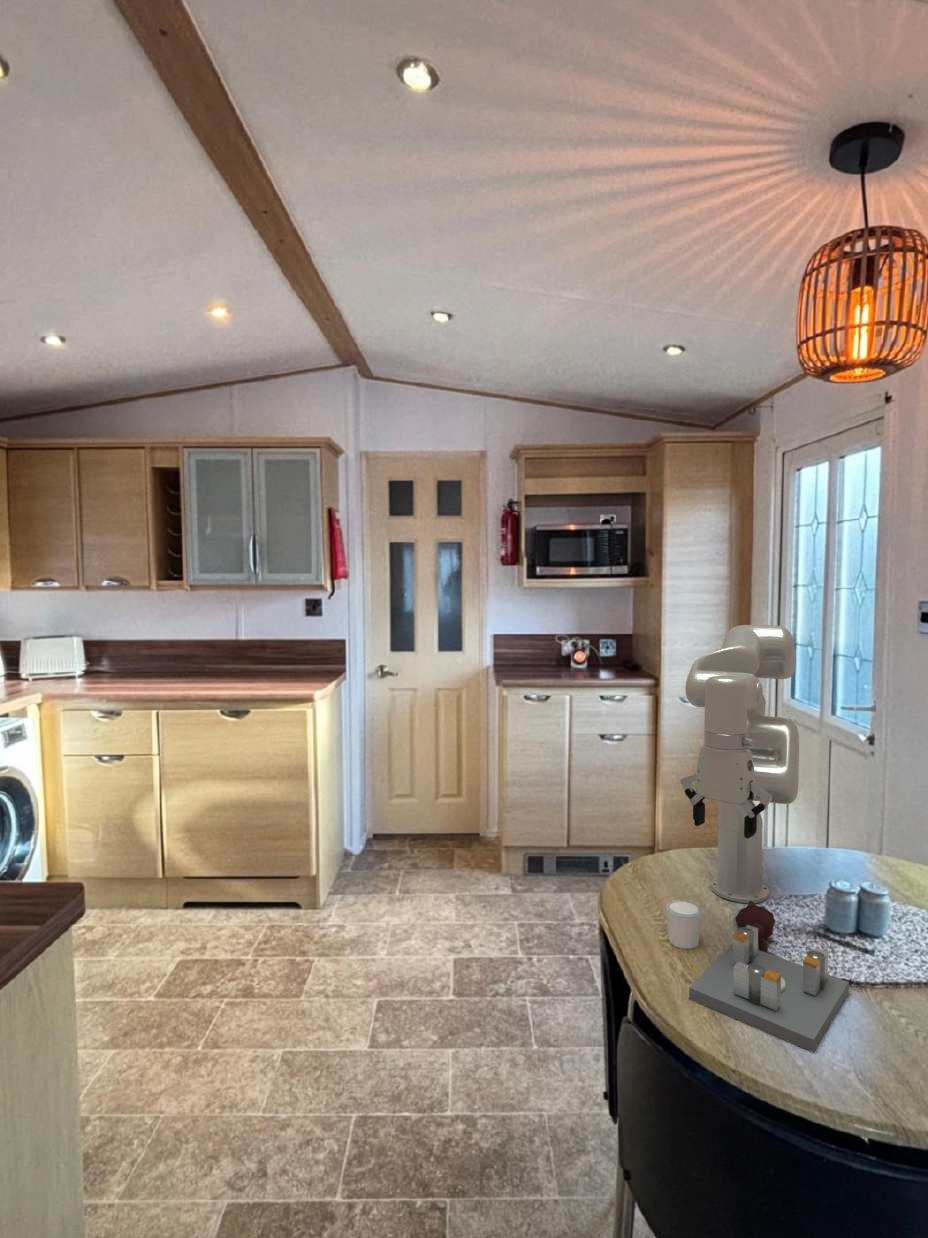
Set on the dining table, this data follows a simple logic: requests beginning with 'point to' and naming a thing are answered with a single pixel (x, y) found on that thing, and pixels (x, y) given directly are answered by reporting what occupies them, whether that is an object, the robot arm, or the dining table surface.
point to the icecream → (757, 922)
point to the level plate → (799, 1010)
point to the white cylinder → (683, 923)
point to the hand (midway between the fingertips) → (723, 830)
